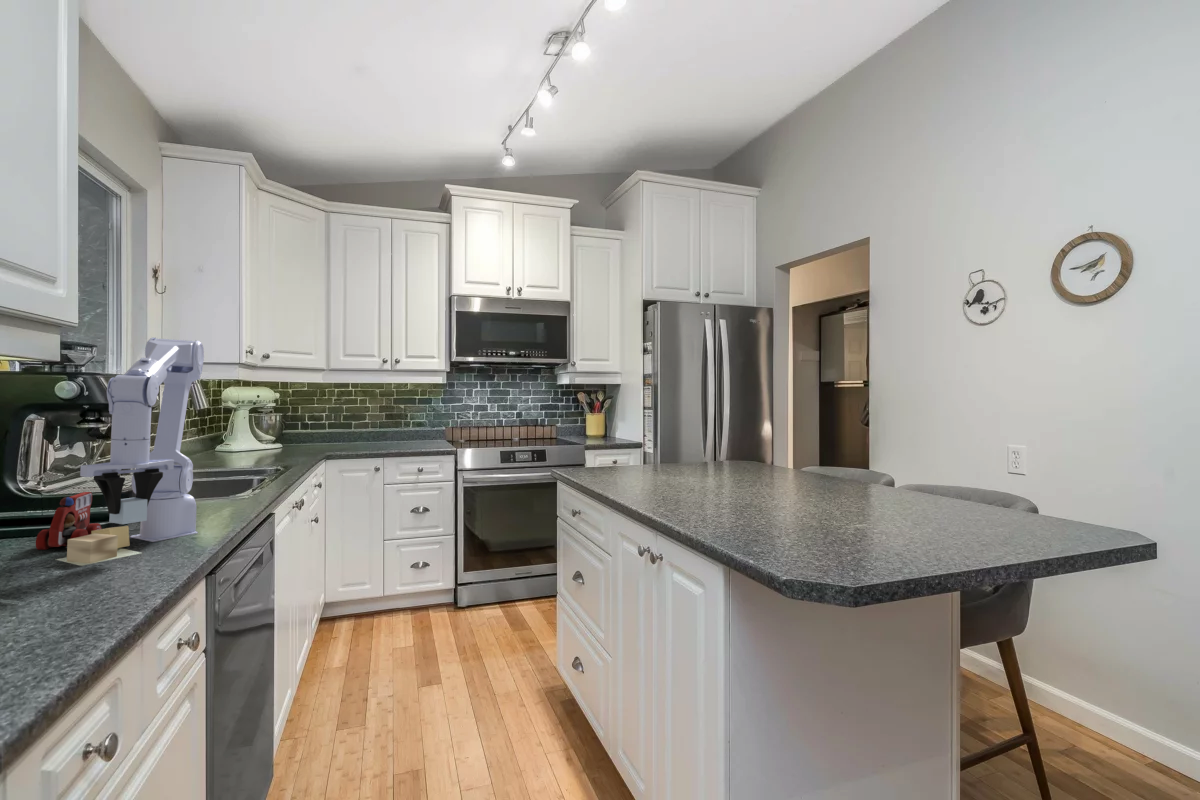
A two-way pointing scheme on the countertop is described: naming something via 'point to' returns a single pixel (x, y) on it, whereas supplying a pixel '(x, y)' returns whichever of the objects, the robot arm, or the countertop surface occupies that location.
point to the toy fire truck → (68, 522)
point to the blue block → (130, 511)
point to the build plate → (120, 554)
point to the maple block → (92, 548)
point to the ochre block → (120, 531)
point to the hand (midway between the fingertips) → (127, 511)
